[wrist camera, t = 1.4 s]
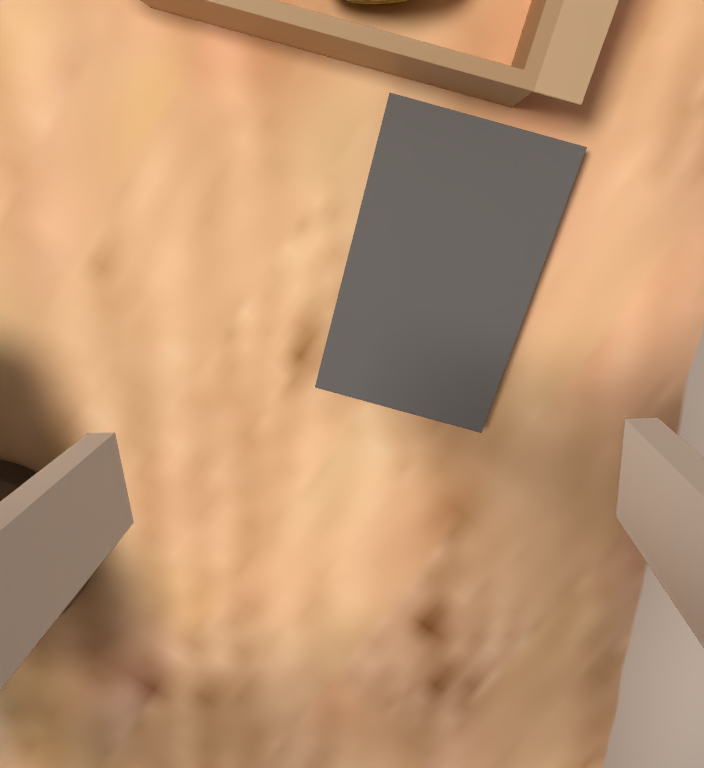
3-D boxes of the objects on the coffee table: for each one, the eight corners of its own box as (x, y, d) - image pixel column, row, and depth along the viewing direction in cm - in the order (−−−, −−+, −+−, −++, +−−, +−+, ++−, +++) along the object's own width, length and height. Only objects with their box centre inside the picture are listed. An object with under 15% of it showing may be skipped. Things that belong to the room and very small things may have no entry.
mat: (317, 380, 41) (315, 387, 40) (390, 96, 35) (389, 92, 33) (478, 424, 41) (481, 432, 40) (579, 149, 35) (586, 147, 34)
